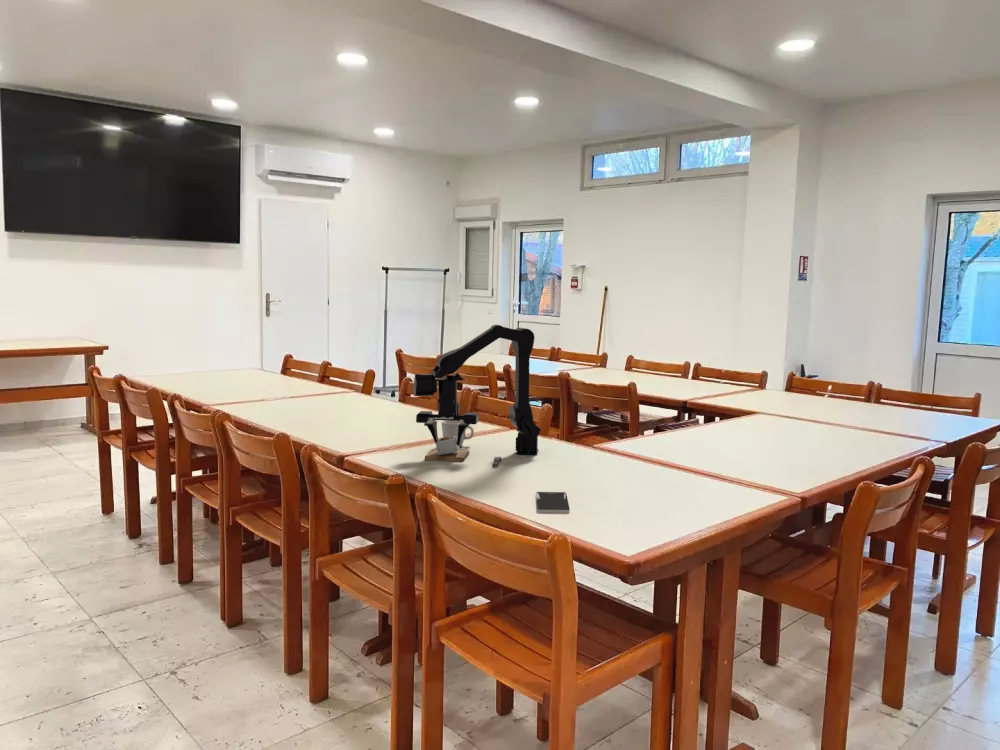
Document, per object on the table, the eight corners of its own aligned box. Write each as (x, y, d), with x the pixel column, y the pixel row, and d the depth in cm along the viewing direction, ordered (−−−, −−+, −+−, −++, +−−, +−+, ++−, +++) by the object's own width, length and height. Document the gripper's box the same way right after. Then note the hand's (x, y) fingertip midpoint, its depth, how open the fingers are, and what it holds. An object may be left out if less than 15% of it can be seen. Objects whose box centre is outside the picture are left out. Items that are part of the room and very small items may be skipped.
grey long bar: (501, 460, 223) (501, 454, 223) (497, 467, 215) (497, 461, 214) (496, 459, 224) (496, 454, 223) (492, 467, 215) (492, 461, 215)
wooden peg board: (469, 454, 231) (469, 434, 230) (463, 461, 221) (463, 441, 221) (432, 452, 233) (432, 433, 232) (424, 460, 223) (424, 440, 222)
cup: (475, 443, 247) (475, 420, 246) (472, 448, 239) (472, 424, 238) (443, 442, 248) (443, 419, 247) (439, 447, 240) (439, 423, 239)
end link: (459, 447, 229) (457, 435, 228) (457, 451, 223) (454, 438, 222) (440, 450, 229) (438, 438, 229) (438, 455, 223) (435, 442, 223)
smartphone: (537, 509, 172) (536, 491, 187) (537, 515, 172) (535, 496, 187) (569, 510, 172) (565, 491, 187) (569, 515, 172) (565, 496, 187)
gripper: (481, 392, 231) (481, 440, 233) (423, 390, 234) (424, 438, 236) (475, 397, 221) (475, 448, 222) (415, 395, 223) (415, 446, 225)
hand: (447, 445), depth 227 cm, fingers closed on end link, 6 cm apart
